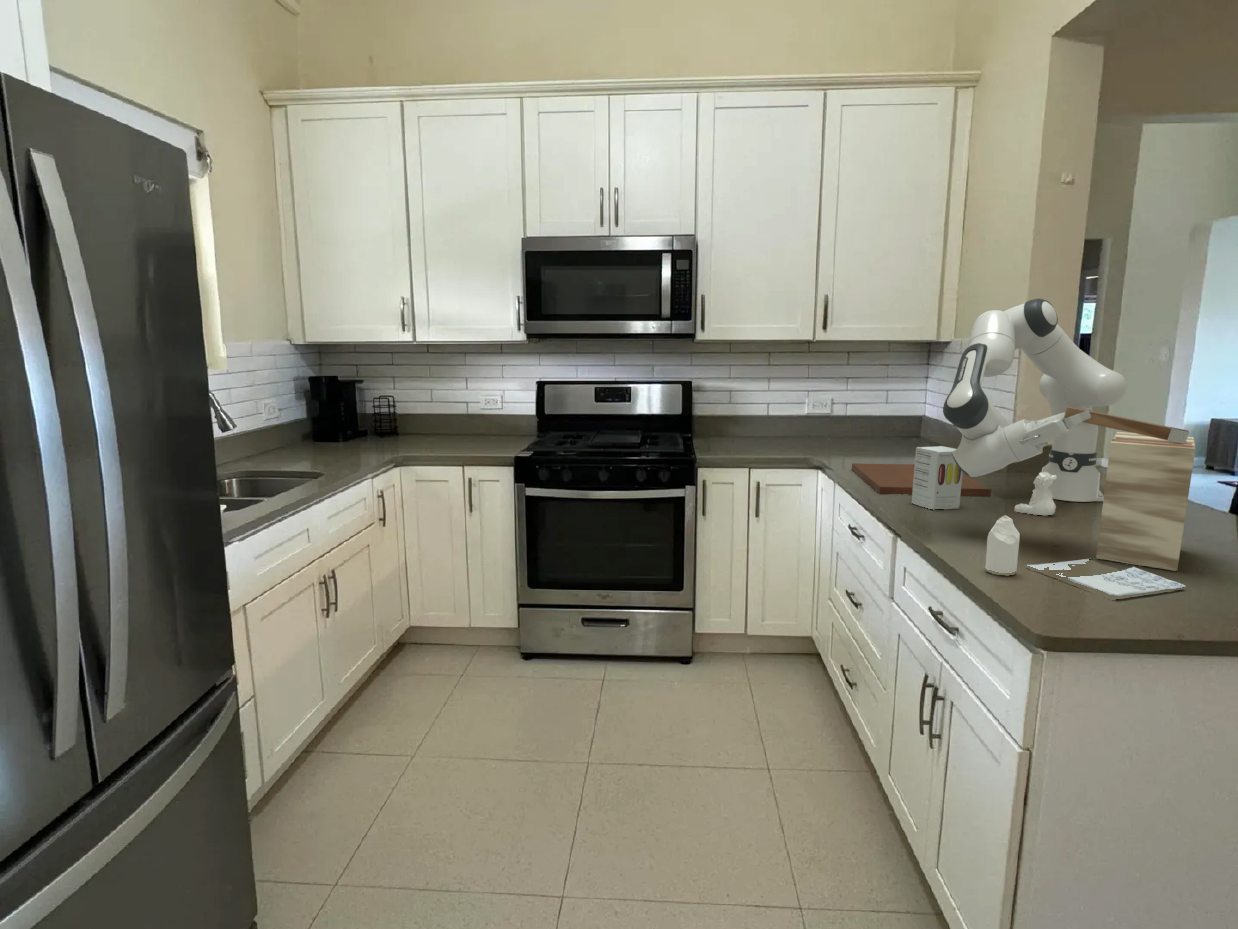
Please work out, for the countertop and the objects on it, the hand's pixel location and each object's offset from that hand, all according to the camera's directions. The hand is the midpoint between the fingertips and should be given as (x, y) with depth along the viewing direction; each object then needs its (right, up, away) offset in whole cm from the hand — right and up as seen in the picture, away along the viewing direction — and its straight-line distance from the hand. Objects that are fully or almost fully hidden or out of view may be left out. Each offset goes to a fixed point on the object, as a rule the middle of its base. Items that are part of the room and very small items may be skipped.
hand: (1091, 412), depth 154 cm
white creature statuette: (+11, -25, +38) cm, 47 cm away
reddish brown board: (-5, -18, +80) cm, 82 cm away
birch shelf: (+12, -32, +3) cm, 34 cm away
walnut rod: (+5, -4, -3) cm, 7 cm away
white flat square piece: (-7, -35, -13) cm, 38 cm away
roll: (-25, -34, -9) cm, 43 cm away
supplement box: (-13, -24, +47) cm, 55 cm away
